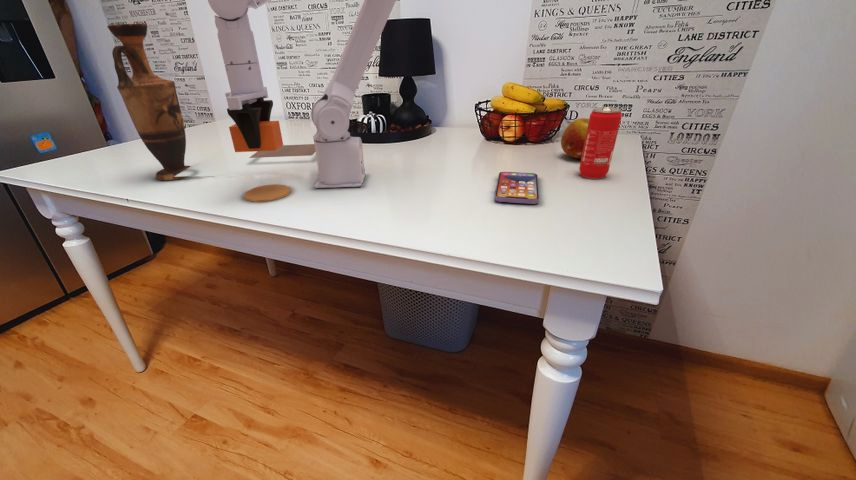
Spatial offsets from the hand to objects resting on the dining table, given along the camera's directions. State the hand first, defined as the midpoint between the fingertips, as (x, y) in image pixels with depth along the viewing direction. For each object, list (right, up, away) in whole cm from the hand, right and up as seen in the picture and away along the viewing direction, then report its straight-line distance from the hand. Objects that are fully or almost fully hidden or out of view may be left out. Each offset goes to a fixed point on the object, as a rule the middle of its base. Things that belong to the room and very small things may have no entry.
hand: (259, 144), depth 76 cm
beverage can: (+65, -5, +2) cm, 65 cm away
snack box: (0, -1, 0) cm, 1 cm away
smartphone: (+48, -9, -2) cm, 49 cm away
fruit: (+68, +2, +13) cm, 69 cm away
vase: (-25, -1, +18) cm, 31 cm away
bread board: (-2, +7, +28) cm, 29 cm away
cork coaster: (+1, -9, +3) cm, 9 cm away
